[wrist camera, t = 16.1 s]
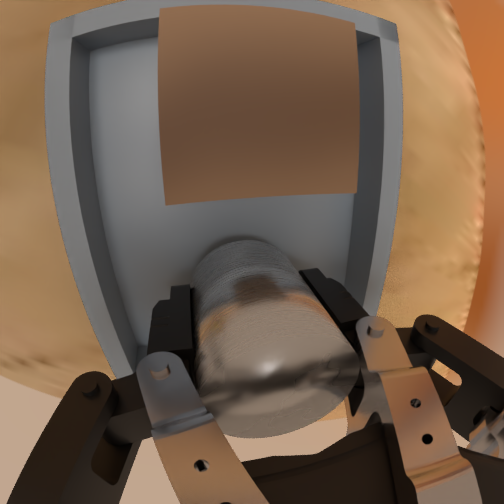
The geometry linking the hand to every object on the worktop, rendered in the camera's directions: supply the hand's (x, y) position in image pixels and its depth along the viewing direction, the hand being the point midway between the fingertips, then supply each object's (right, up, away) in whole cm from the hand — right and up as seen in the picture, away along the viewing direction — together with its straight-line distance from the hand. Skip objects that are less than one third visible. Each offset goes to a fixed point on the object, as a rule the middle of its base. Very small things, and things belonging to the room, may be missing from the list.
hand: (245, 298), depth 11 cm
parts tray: (-1, +4, +1) cm, 4 cm away
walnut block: (0, +7, -1) cm, 7 cm away
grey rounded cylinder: (0, 0, 0) cm, 1 cm away
